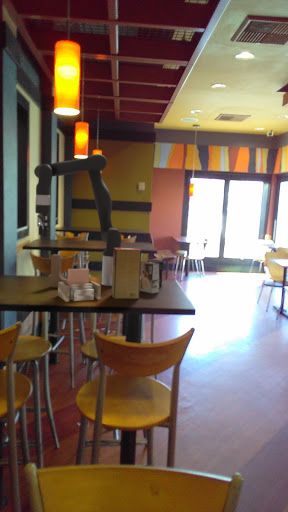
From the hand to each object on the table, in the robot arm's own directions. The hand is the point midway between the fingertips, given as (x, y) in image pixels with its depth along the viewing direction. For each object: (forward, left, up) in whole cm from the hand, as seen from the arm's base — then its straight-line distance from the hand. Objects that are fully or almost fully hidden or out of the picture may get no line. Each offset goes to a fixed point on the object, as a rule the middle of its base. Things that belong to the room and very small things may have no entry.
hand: (42, 235), depth 204 cm
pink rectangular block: (-13, +19, -29) cm, 37 cm away
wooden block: (-11, -5, -29) cm, 32 cm away
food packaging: (-36, +26, -29) cm, 53 cm away
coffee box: (-55, +18, -29) cm, 65 cm away
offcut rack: (-13, +21, -29) cm, 38 cm away
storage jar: (-66, +4, -29) cm, 72 cm away
